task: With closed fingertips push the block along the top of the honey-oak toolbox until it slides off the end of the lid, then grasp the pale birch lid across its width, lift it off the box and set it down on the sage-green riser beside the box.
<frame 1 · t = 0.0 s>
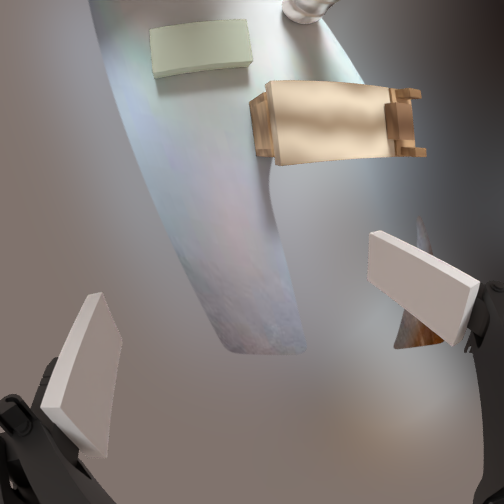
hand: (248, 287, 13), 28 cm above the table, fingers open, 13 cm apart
block: (399, 121, 30), point 10 cm above the table, slide at 0.0 cm
lid: (333, 121, 32), point 7 cm above the table, touching toolbox
plastic bottle: (297, 12, 31), on the table
toolbox: (322, 124, 39), on the table
riser: (198, 49, 31), on the table
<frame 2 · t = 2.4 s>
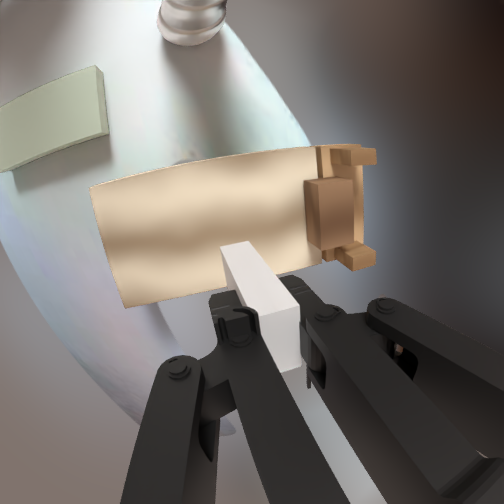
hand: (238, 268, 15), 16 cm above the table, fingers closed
block: (329, 211, 21), point 10 cm above the table, slide at 0.0 cm
lid: (211, 221, 22), point 7 cm above the table, touching toolbox
plastic bottle: (189, 27, 21), on the table
toolbox: (223, 201, 29), on the table
riser: (51, 121, 21), on the table
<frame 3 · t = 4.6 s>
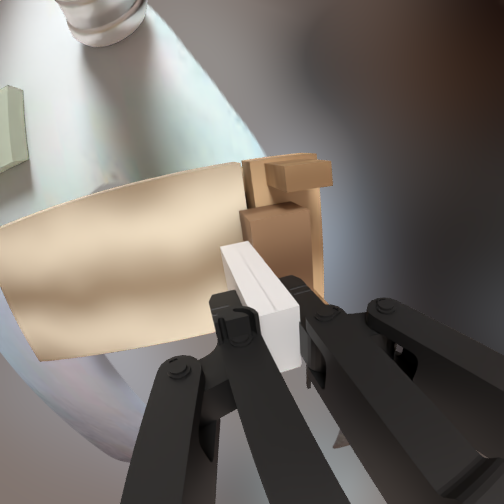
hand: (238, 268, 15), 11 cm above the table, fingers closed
block: (277, 255, 15), point 10 cm above the table, slide at 0.9 cm, touching gripper
lid: (115, 268, 16), point 7 cm above the table, touching toolbox
plastic bottle: (113, 24, 16), on the table
toolbox: (153, 231, 23), on the table
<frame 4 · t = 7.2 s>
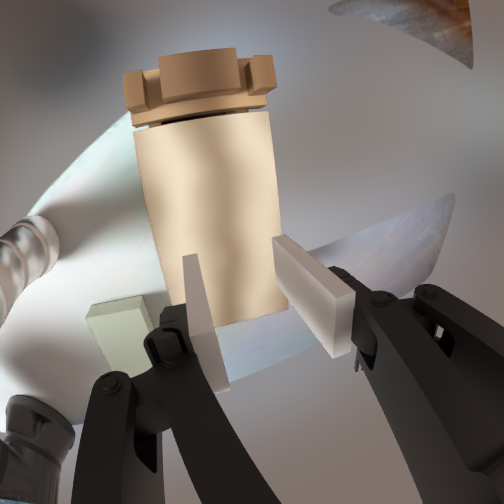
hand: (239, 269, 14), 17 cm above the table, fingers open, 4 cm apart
block: (198, 75, 16), point 10 cm above the table, slide at 2.9 cm
lid: (215, 224, 23), point 7 cm above the table, touching toolbox
plastic bottle: (42, 238, 26), on the table
toolbox: (203, 189, 29), on the table
riser: (133, 342, 33), on the table
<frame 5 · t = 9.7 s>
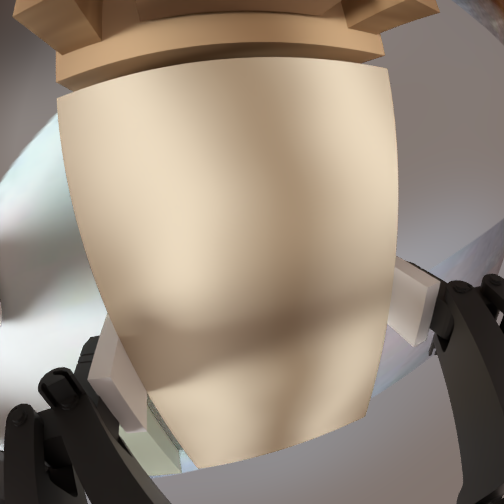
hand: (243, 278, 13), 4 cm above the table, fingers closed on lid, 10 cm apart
lid: (259, 306, 11), point 7 cm above the table, touching gripper, toolbox
toolbox: (222, 216, 17), on the table
riser: (123, 423, 21), on the table
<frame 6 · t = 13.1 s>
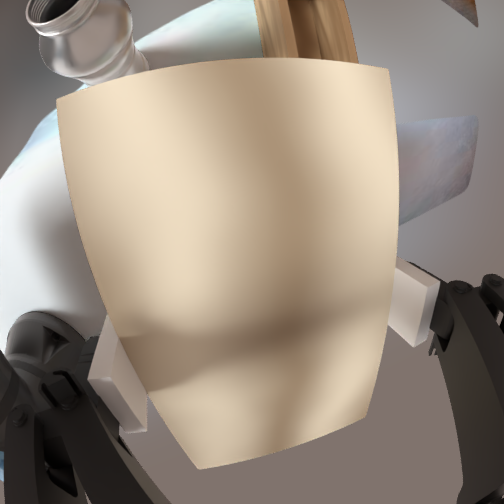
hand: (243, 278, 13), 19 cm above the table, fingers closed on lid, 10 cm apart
lid: (259, 307, 11), point 22 cm above the table, touching gripper
plastic bottle: (123, 82, 24), on the table
toolbox: (294, 55, 27), on the table
when the fingers open (2 cm above the table, at t = 16.8 s): lid drops 2 cm, resting on riser.
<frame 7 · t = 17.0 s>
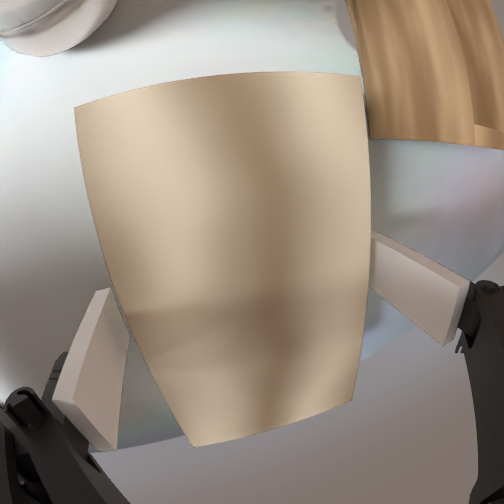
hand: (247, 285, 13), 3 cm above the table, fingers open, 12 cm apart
lid: (248, 289, 12), point 3 cm above the table, touching riser
plastic bottle: (72, 16, 8), on the table
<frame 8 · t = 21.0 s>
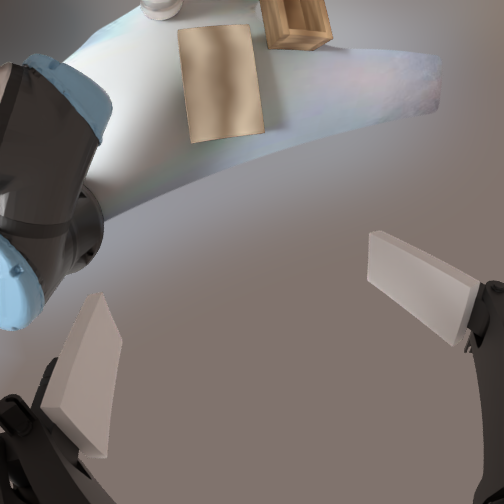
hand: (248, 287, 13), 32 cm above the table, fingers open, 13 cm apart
lid: (218, 81, 34), point 3 cm above the table, touching riser
plastic bottle: (162, 9, 29), on the table
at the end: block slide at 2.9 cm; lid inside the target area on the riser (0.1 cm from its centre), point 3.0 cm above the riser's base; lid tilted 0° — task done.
